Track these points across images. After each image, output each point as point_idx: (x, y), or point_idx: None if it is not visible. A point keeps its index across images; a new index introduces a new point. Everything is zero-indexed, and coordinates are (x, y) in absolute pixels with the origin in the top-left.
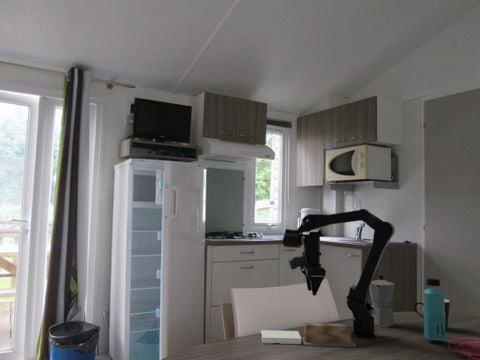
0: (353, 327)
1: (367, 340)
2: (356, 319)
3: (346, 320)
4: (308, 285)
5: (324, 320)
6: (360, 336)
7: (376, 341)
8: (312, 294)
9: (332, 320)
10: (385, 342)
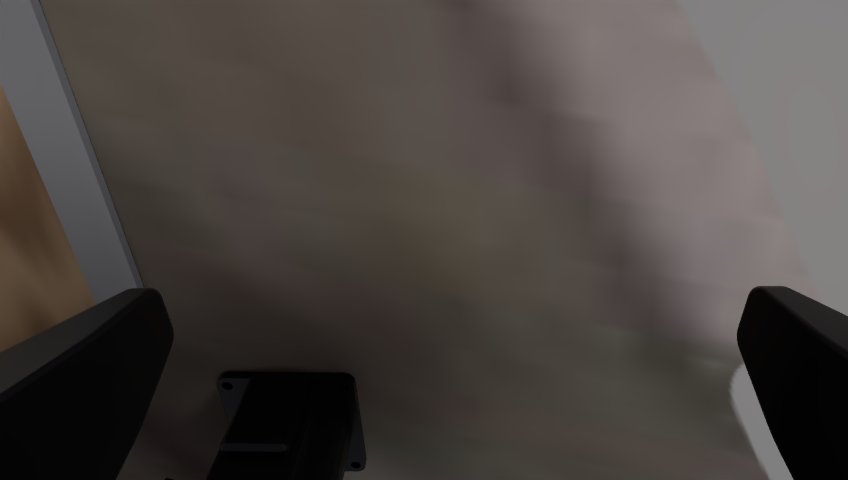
0: (238, 406)
1: (183, 408)
2: (207, 476)
3: (693, 412)
4: (827, 380)
5: (718, 258)
6: (221, 395)
7: (181, 443)
8: (129, 292)
9: (708, 321)
10: (179, 474)
